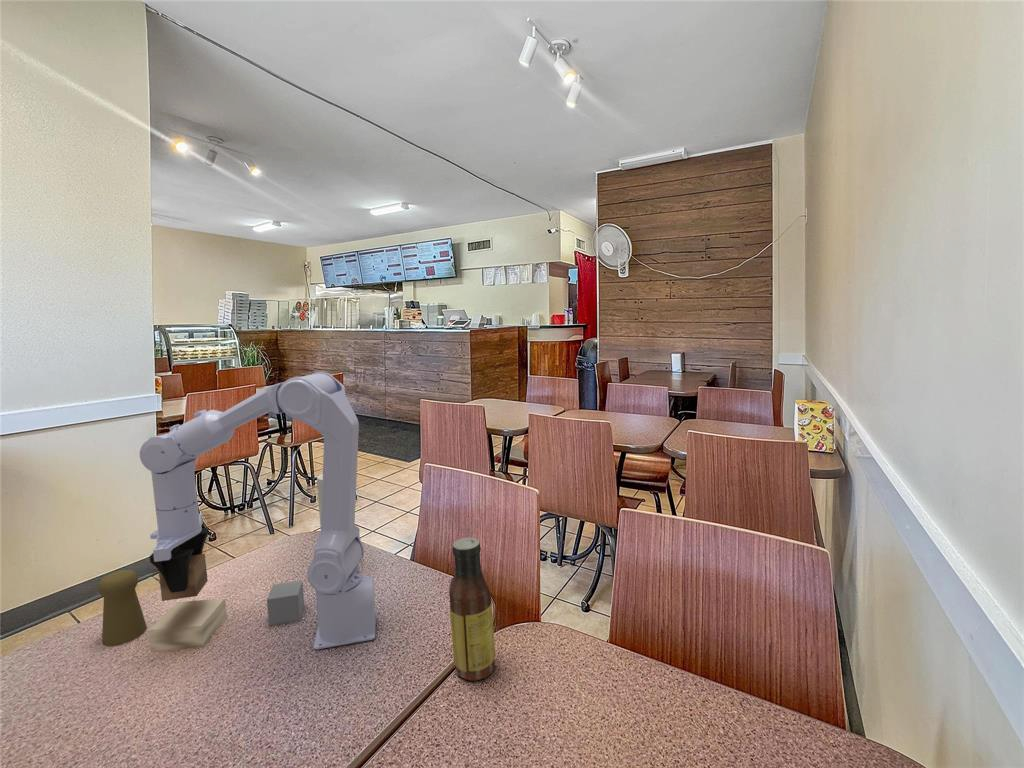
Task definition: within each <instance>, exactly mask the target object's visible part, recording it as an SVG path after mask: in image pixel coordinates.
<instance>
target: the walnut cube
mask: <svg viewBox="0 0 1024 768" xmlns="http://www.w3.org/2000/svg"><path fill="white" fill-rule="evenodd" d="M206 562H207V561H206V554H205V553H202V554H199V555H191V558H190V561H189V567H188V583H187V588H186V590H185V591H181V592H174V593H171V592H170V590H169V588H168V586H167V584H166V582H165V580H164V578H163V576H162V574H161V573H160V571H159V570H158V577H159V585H160V587H159V588H160V595H161V601H162V602H165V601H171V600H172V601H173V600H179V599H185V598H186V599H187V598H193V597H197V596H198V595H199V594H200V593H201V592H202V589H203V588H204V587H205V585H206V584H207V582H208V572H207V563H206Z"/></svg>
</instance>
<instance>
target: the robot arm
mask: <svg viewBox="0 0 1024 768" xmlns="http://www.w3.org/2000/svg"><path fill="white" fill-rule="evenodd" d="M268 413H274V414H277V415H281V414H282V413H284V414H285V415H287V416H288V417H290V418H292V419H294V420H296V421H299V422H301V423H303V424H305V425H307V426H310V427H312V428H313V429H314V430H316V431H317V432H318V433H319V434H320V435H321V436H322V437H323V457H322V460H323V461H322V474H323V482H322V511H321V527H320V532H319V535H318V538H317V541H316V544H315V547H314V549H313V550H314V551H313V558H312V561H311V562H310V564H309V566H308V567H307V573H306V576H307V581H308V583H309V585H310V586H311V588H312V589H313V590H315V597H316V611H317V623H318V626H317V630H316V634H315V639H314V643H313V650H316V651H317V650H322V649H326V648H333V647H338V646H339V647H340V646H345V645H350V644H355V643H362V642H367V641H372V640H374V639H375V638H376V621H377V620H378V608H377V607H376V598H375V597H376V596H375V595H376V594H375V581H374V579H375V578H374V576H369V575H368V576H367V575H361V571H360V567H359V564H360V562H361V561H362V559H363V557H364V555H365V547H364V544H363V542H362V540H361V537H360V527H358V526H357V525H355V520H356V518H355V517H356V500H357V499H356V498H357V473H358V453H359V452H358V451H359V429H360V423H359V420H358V417H357V415H356V413H355V411H354V410H353V408H352V405H351V403H350V401H349V399H348V397H347V396H346V388H345V386H344V384H343V383H341V382H340V381H339V380H338V379H336V378H335V377H334V376H333V375H331V373H328V372H324V371H316V372H313V373H310V374H309V375H303V376H300V377H298V376H296V377H292V378H288V379H287V380H285V381H283V382H279V383H275V384H273V385H270V386H268V387H265V388H264V389H261V390H259V391H257V392H256V393H254V394H253V395H251V396H249V397H248V398H246V399H244V400H242V401H240V402H239V403H236V404H235V405H233V406H232V407H230V408H229V409H226V410H225V411H219V410H217V409H210V410H208V411H207V409H203V410H199V411H197V412H195V413H194V414H193V417H194V418H192V419H190V420H188V421H186V422H184V423H182V424H179V423H177V424H174V425H172V426H170V427H169V432H167V433H164V434H161V435H155V436H151V437H149V438H148V440H146V441H145V442H144V443H143V444H142V445H141V446H140V449H139V459H140V462H141V464H142V465H143V466H144V468H145V469H147V470H148V471H150V472H151V480H152V481H151V482H152V488H153V489H152V490H153V499H154V507H155V514H156V515H155V516H156V523H157V530H154V531H153V532H151V533H150V535H149V538H150V539H151V540H156V543H155V547H154V549H152V554H150V555H149V562H150V563H151V564H152V565H153V566H154V567H155V568H156V569H157V570H158V572H159V571H160V573H161V574H162V576H163V578H164V580H165V582H166V584H167V586H168V588H169V590H170V592H171V593H174V592H181V591H185V590H186V588H187V583H188V567H189V561H190V558H191V555H199V554H203V550H204V546H205V543H206V540H207V539H208V538H207V537H208V535H209V533H210V529H209V528H207V527H206V528H202V526H203V524H204V518H203V513H199V512H200V511H199V503H198V496H197V484H196V476H195V470H196V469H197V466H196V462H197V459H198V458H199V457H200V456H202V455H204V454H207V453H208V452H209V451H212V450H214V449H216V448H218V447H220V446H222V445H223V444H226V443H227V442H229V441H231V440H232V438H233V436H234V433H235V429H237V428H239V427H241V426H243V425H245V424H248V423H250V422H252V421H254V420H257V418H260V417H262V416H265V415H266V414H268Z"/></svg>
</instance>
